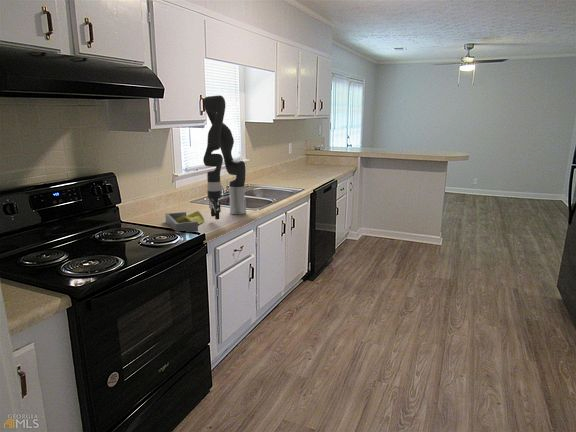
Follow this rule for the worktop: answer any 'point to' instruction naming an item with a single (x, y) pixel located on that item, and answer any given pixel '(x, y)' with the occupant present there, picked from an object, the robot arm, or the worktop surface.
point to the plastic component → (191, 218)
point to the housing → (180, 226)
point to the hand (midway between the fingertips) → (215, 217)
